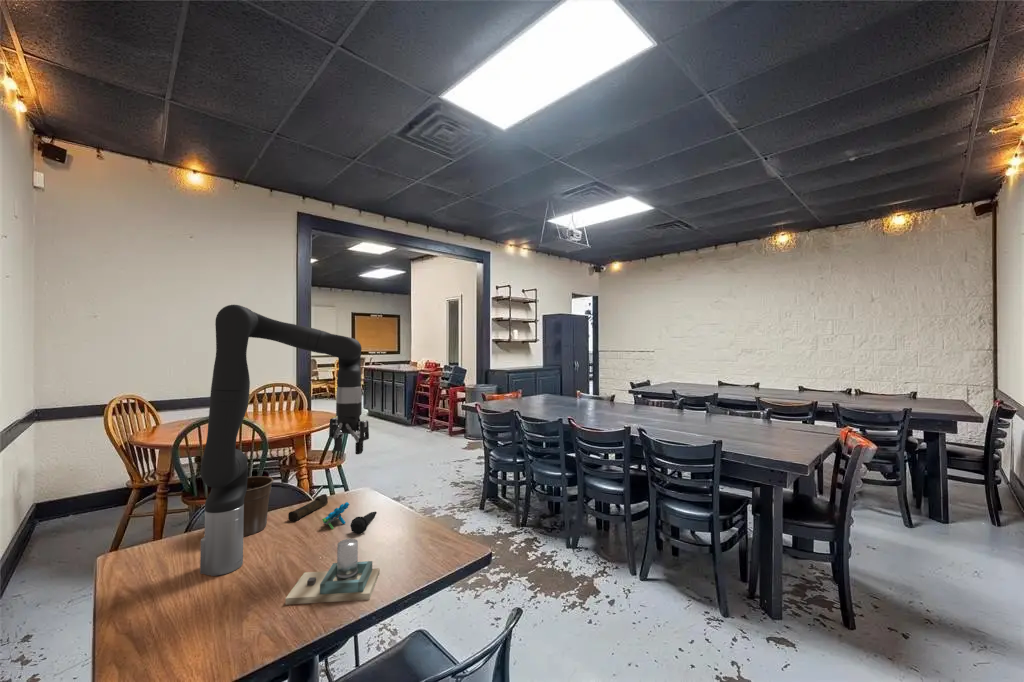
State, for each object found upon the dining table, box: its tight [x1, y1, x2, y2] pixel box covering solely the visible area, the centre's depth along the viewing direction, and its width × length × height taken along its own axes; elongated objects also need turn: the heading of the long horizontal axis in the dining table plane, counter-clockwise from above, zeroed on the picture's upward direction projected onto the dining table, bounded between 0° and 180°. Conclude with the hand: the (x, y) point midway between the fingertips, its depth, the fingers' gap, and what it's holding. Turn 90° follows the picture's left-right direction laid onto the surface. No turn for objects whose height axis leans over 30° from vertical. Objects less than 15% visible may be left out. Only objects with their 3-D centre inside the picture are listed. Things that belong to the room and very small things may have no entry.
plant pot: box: [243, 475, 274, 537], centre depth 144 cm, size 16×16×16 cm
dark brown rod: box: [287, 493, 329, 523], centre depth 160 cm, size 19×4×5 cm, turn 163°
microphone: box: [349, 511, 377, 534], centre depth 149 cm, size 6×6×20 cm
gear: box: [321, 501, 350, 530], centre depth 149 cm, size 11×6×10 cm
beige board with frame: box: [284, 560, 381, 606], centre depth 109 cm, size 20×12×4 cm, turn 96°
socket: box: [336, 538, 359, 581], centre depth 110 cm, size 5×5×10 cm
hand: (348, 452), depth 131 cm, fingers open, 8 cm apart
